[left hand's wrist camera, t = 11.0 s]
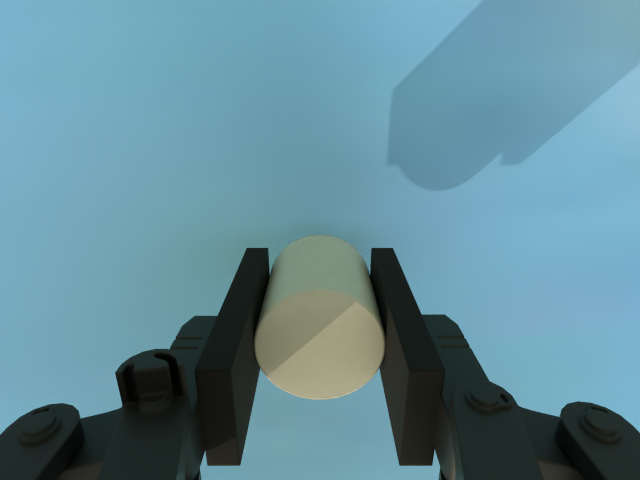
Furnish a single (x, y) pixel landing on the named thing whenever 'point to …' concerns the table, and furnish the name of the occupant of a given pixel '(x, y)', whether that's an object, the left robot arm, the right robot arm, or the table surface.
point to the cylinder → (319, 320)
